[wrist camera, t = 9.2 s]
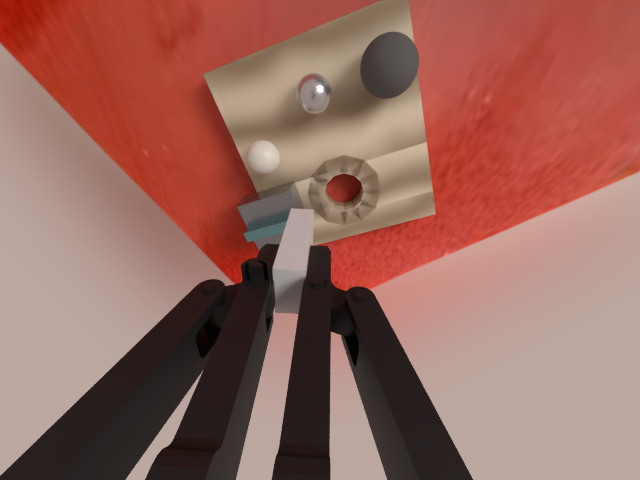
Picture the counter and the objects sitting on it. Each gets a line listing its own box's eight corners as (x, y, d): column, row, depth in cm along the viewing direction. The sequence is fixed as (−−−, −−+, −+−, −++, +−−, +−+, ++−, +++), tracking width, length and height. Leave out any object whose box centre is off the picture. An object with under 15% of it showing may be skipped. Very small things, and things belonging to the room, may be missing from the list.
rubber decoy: (352, 47, 26) (356, 41, 21) (406, 26, 25) (421, 15, 20) (364, 104, 28) (370, 109, 24) (414, 87, 27) (430, 88, 23)
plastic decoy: (246, 143, 30) (236, 150, 27) (275, 132, 30) (269, 138, 27) (259, 172, 32) (251, 182, 29) (287, 163, 31) (282, 172, 28)
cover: (244, 196, 33) (232, 212, 29) (293, 180, 32) (288, 196, 28) (265, 239, 36) (257, 260, 32) (311, 227, 35) (309, 247, 31)
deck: (212, 74, 29) (202, 74, 27) (400, -3, 26) (407, -11, 24) (287, 243, 40) (284, 253, 38) (429, 205, 36) (435, 213, 34)
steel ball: (292, 80, 27) (287, 80, 24) (326, 67, 27) (325, 66, 24) (304, 117, 29) (301, 121, 26) (336, 105, 28) (337, 109, 25)
